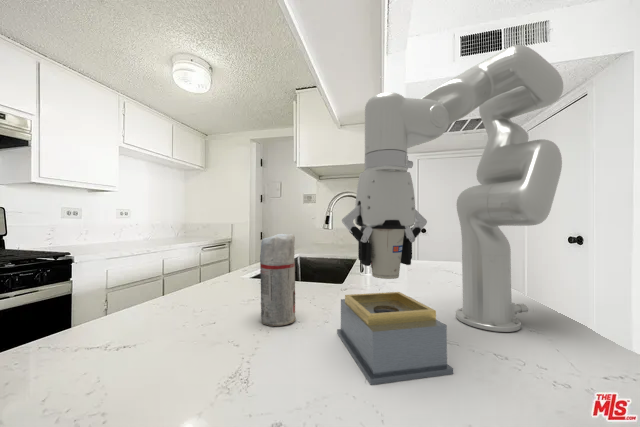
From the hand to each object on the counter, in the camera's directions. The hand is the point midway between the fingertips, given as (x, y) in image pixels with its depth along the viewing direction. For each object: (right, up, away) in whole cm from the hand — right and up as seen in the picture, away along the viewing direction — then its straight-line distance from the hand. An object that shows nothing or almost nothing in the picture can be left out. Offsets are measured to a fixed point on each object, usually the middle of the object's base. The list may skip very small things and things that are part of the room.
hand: (385, 263), depth 46 cm
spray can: (-21, -16, +13) cm, 30 cm away
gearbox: (0, -15, -1) cm, 15 cm away
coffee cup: (0, -2, 0) cm, 2 cm away
